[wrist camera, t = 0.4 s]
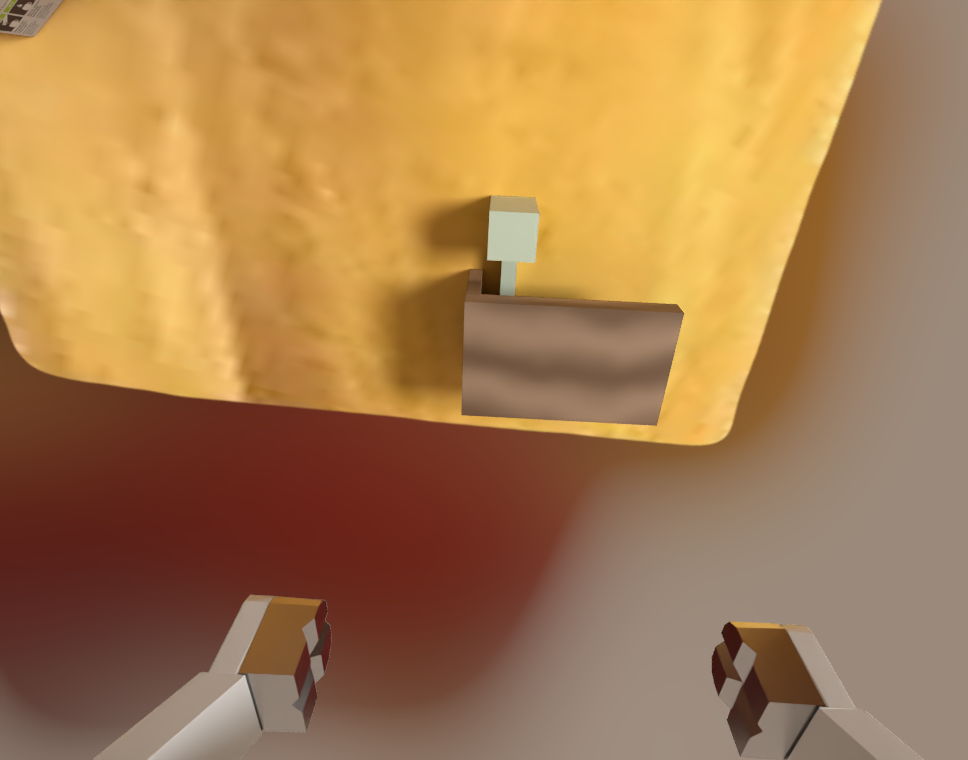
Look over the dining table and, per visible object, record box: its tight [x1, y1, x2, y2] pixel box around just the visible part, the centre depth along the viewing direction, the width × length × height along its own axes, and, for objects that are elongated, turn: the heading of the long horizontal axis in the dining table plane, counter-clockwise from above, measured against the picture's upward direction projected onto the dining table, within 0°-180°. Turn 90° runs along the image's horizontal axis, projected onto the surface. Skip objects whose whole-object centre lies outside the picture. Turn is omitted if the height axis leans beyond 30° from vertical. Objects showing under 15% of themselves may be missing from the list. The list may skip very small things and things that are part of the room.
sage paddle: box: [487, 195, 539, 296], centre depth 49 cm, size 16×4×7 cm, turn 177°
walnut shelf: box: [462, 269, 684, 426], centre depth 50 cm, size 11×18×9 cm, turn 87°
